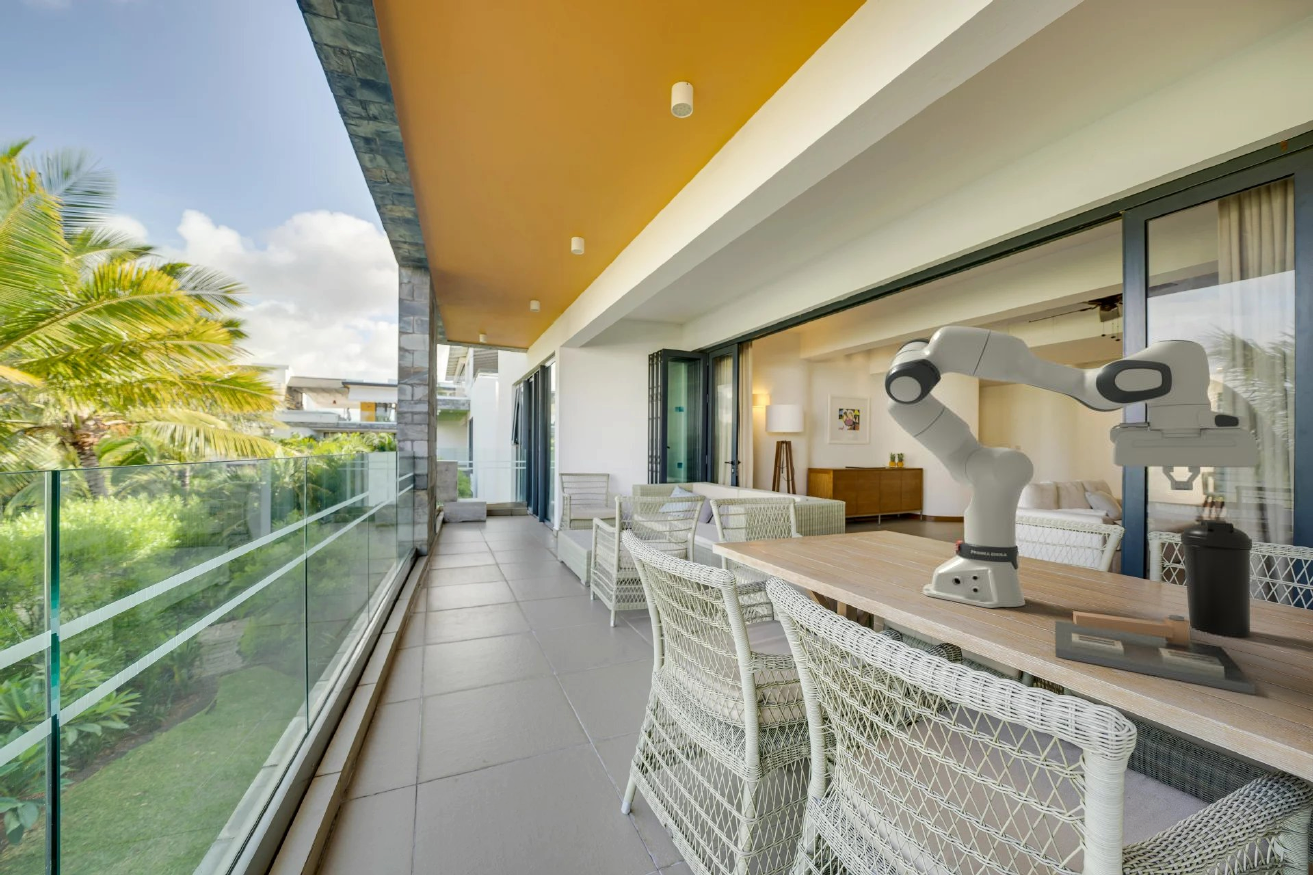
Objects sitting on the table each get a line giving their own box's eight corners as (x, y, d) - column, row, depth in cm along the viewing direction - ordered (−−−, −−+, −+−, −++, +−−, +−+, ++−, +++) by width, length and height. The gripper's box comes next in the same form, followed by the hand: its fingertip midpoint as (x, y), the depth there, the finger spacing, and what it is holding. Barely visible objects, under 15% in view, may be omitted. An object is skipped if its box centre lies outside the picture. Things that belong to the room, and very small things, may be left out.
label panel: (1055, 656, 92) (1055, 642, 92) (1055, 627, 108) (1055, 615, 108) (1254, 694, 78) (1253, 677, 78) (1221, 654, 93) (1220, 640, 93)
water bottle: (1245, 628, 108) (1240, 520, 108) (1265, 643, 99) (1260, 525, 100) (1178, 619, 113) (1173, 516, 114) (1192, 632, 105) (1187, 521, 106)
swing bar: (1186, 641, 95) (1185, 615, 95) (1193, 646, 92) (1191, 620, 93) (1073, 626, 104) (1072, 602, 104) (1076, 630, 101) (1075, 606, 101)
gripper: (1110, 422, 106) (1112, 488, 105) (1260, 417, 93) (1263, 493, 92) (1108, 423, 110) (1110, 487, 110) (1250, 419, 97) (1253, 491, 97)
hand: (1181, 490), depth 101 cm, fingers closed
